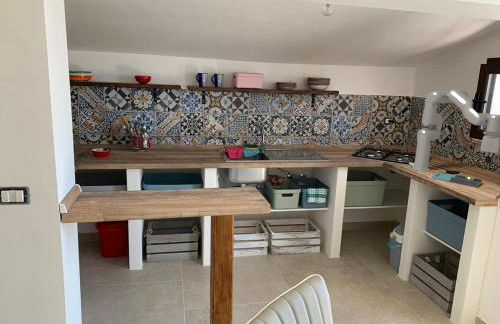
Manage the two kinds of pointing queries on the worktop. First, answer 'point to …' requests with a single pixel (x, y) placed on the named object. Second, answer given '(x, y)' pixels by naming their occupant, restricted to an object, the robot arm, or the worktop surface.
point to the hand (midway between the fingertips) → (487, 162)
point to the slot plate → (466, 181)
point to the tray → (442, 177)
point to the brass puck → (470, 178)
